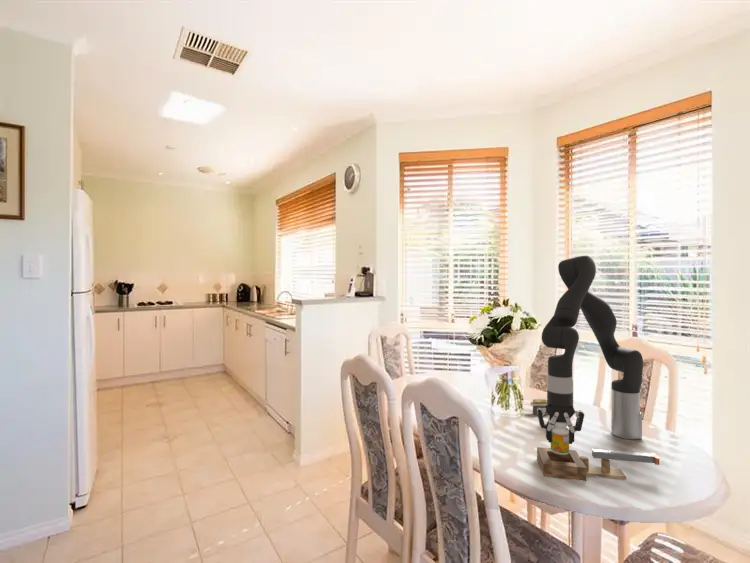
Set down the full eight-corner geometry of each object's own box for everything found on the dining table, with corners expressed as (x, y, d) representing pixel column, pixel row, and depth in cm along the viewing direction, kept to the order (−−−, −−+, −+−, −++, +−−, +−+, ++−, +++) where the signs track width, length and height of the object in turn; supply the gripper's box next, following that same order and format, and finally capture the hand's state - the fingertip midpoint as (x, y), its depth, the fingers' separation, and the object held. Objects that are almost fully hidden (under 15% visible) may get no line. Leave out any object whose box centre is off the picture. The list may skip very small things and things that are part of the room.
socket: (576, 462, 131) (576, 450, 131) (586, 481, 119) (586, 467, 119) (537, 458, 134) (537, 447, 134) (543, 476, 122) (543, 463, 122)
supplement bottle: (546, 449, 128) (546, 419, 128) (559, 446, 130) (559, 417, 130) (560, 456, 123) (560, 425, 123) (573, 453, 125) (573, 422, 125)
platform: (515, 410, 183) (515, 395, 183) (554, 409, 183) (554, 395, 183) (526, 419, 171) (526, 404, 171) (567, 418, 171) (567, 403, 171)
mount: (620, 471, 125) (620, 457, 125) (626, 479, 120) (626, 464, 120) (578, 467, 128) (578, 453, 128) (583, 475, 123) (583, 461, 123)
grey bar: (653, 459, 122) (654, 452, 122) (659, 464, 119) (659, 458, 119) (591, 454, 126) (591, 447, 126) (594, 459, 123) (594, 452, 123)
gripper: (537, 391, 124) (537, 445, 125) (588, 394, 121) (588, 449, 121) (533, 384, 132) (533, 435, 132) (581, 387, 128) (581, 439, 129)
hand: (559, 442), depth 127 cm, fingers closed on supplement bottle, 5 cm apart
